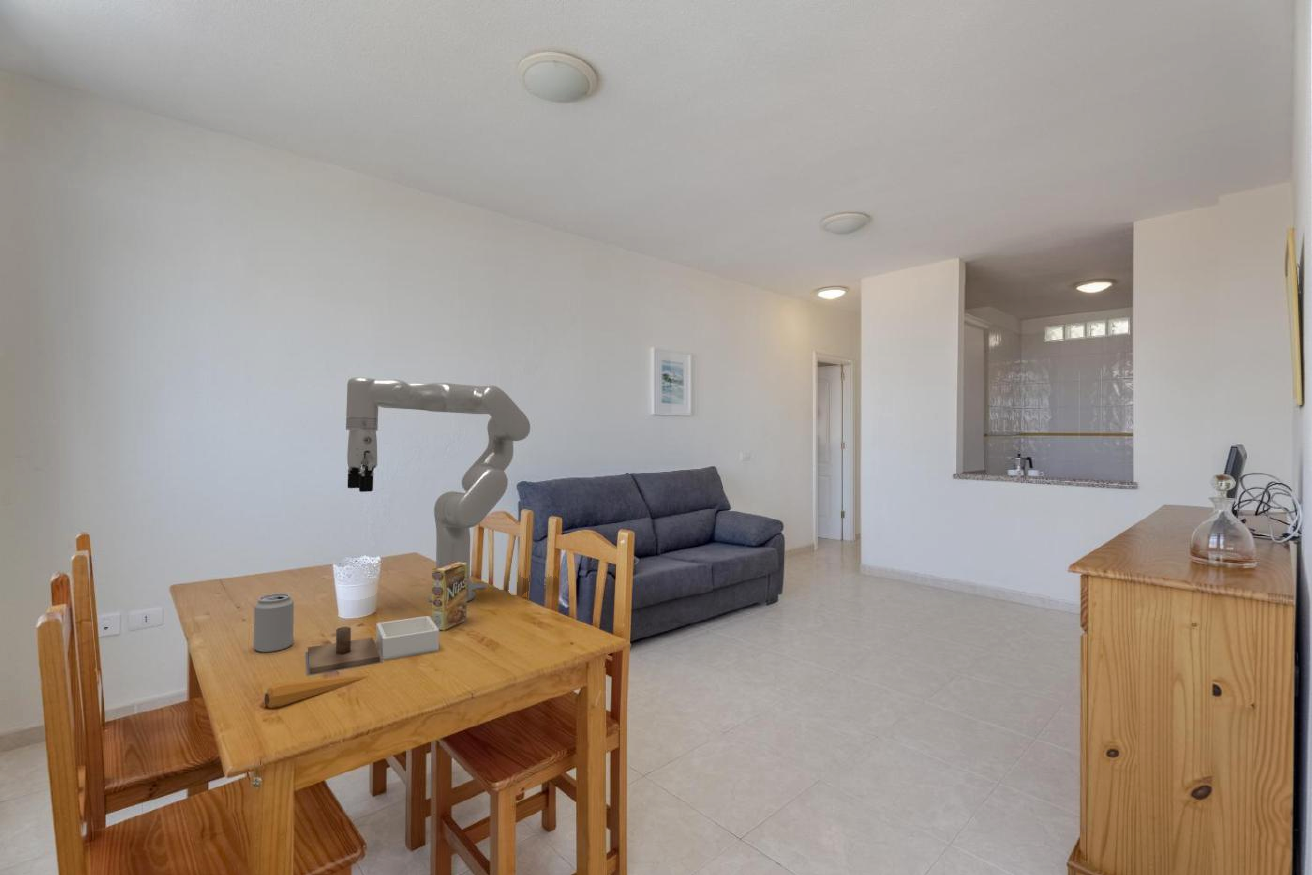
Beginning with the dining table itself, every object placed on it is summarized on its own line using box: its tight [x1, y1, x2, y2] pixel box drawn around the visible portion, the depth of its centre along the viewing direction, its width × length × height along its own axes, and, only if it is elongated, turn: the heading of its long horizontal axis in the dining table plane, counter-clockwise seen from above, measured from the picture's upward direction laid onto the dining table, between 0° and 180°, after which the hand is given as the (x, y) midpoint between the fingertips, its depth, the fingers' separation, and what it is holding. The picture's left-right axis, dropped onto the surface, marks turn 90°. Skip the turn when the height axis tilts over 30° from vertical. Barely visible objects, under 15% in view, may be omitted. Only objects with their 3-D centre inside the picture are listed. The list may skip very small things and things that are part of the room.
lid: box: [307, 626, 381, 674], centre depth 129 cm, size 13×13×6 cm
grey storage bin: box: [375, 615, 440, 661], centre depth 135 cm, size 12×12×5 cm
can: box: [253, 592, 295, 653], centre depth 134 cm, size 8×8×12 cm
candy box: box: [431, 562, 468, 632], centre depth 152 cm, size 9×4×15 cm, turn 160°
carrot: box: [263, 675, 370, 709], centre depth 113 cm, size 20×4×4 cm, turn 141°
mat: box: [304, 640, 383, 677], centre depth 129 cm, size 14×14×1 cm
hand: (359, 489), depth 156 cm, fingers open, 9 cm apart
